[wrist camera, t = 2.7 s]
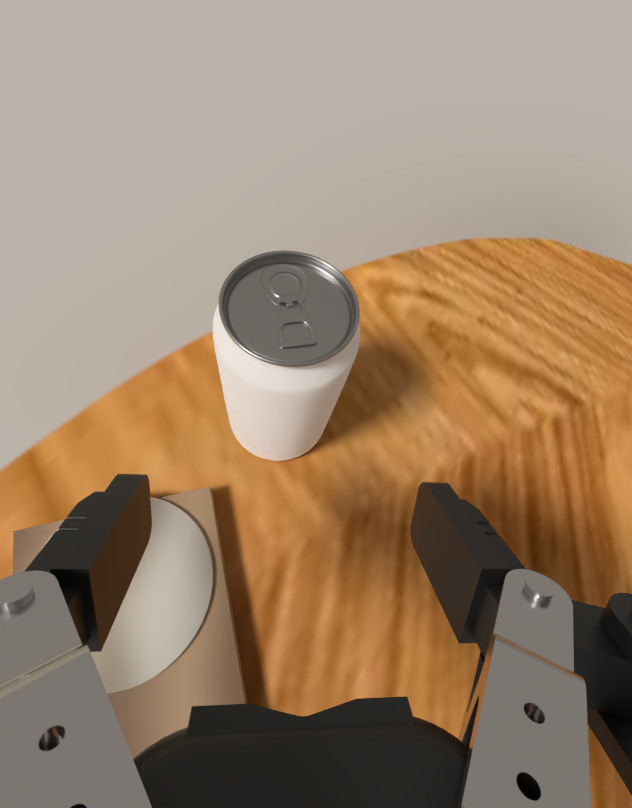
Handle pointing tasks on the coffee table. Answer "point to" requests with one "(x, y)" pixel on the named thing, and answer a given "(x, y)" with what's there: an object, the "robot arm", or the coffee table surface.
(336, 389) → the can
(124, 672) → the board
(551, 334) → the coffee table surface
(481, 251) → the coffee table surface
